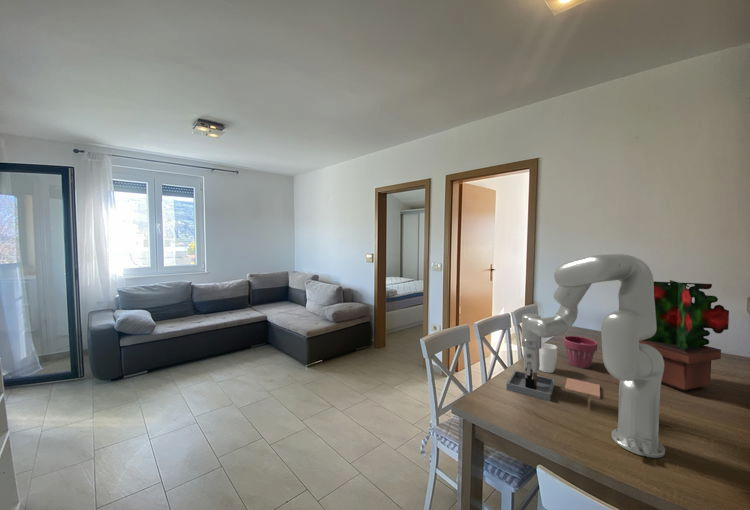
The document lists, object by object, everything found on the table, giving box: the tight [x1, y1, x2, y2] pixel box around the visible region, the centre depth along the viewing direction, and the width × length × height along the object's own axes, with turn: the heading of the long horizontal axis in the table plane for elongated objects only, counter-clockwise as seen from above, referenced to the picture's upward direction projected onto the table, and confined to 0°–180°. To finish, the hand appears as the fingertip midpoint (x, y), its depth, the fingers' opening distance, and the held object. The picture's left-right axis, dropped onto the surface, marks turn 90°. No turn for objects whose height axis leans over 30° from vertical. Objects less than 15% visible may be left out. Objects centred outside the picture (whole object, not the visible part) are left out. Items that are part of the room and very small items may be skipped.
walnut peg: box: [524, 370, 538, 390], centre depth 130 cm, size 4×4×8 cm
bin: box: [506, 370, 555, 402], centre depth 130 cm, size 16×16×4 cm
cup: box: [539, 342, 558, 373], centre depth 149 cm, size 9×9×12 cm
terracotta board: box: [564, 377, 601, 400], centre depth 130 cm, size 12×12×1 cm
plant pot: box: [563, 335, 598, 369], centre depth 155 cm, size 14×14×13 cm
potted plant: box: [639, 279, 730, 392], centre depth 133 cm, size 22×22×45 cm
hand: (530, 384), depth 130 cm, fingers closed on walnut peg, 4 cm apart
